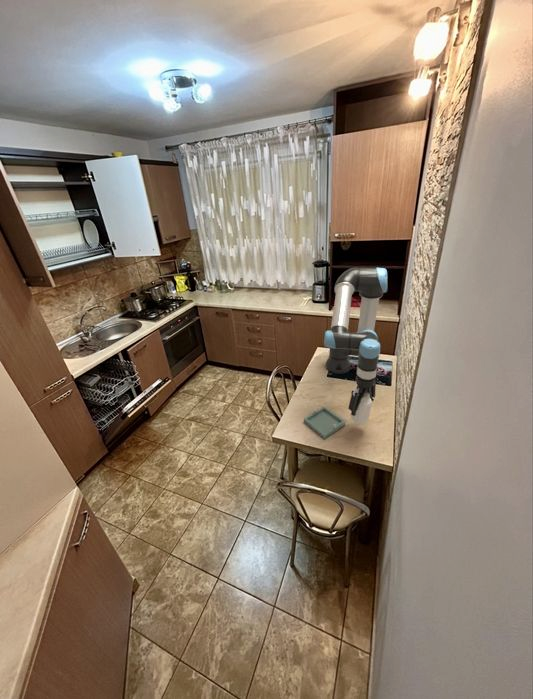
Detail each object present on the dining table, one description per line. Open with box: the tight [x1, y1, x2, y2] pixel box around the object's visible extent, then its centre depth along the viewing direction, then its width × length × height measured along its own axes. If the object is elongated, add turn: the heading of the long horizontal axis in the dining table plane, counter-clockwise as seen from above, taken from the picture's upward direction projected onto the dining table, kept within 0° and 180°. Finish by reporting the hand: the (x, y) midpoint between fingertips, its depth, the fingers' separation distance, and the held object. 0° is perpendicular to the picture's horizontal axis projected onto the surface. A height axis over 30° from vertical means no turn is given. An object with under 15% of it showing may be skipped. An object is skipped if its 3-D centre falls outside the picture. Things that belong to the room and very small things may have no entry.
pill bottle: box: [350, 392, 373, 425], centre depth 123 cm, size 8×8×15 cm
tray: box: [303, 405, 346, 440], centre depth 134 cm, size 14×14×4 cm
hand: (360, 414), depth 126 cm, fingers closed on pill bottle, 8 cm apart
